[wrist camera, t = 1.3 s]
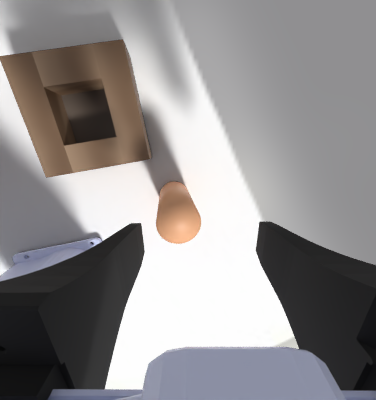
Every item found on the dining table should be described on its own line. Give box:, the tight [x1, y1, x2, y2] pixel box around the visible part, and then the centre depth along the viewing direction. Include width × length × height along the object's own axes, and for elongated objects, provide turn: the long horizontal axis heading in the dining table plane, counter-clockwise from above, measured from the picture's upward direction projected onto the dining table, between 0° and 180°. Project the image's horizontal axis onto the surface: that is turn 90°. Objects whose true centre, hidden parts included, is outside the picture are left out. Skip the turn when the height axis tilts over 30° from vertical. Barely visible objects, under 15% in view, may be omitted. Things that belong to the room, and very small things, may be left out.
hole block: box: [0, 39, 152, 178], centre depth 17 cm, size 9×9×3 cm
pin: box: [156, 181, 201, 244], centre depth 17 cm, size 3×3×8 cm
